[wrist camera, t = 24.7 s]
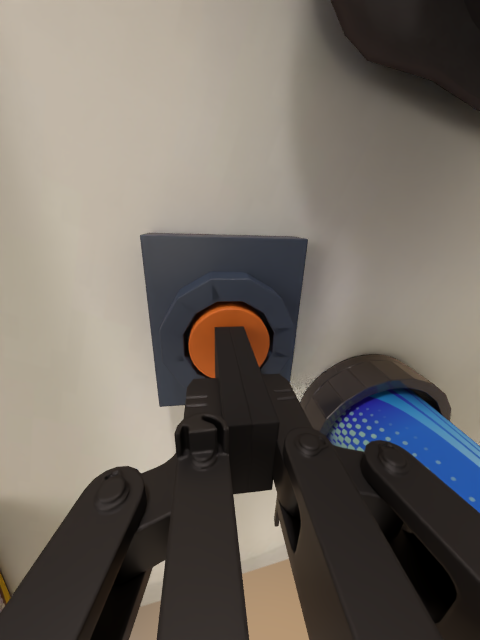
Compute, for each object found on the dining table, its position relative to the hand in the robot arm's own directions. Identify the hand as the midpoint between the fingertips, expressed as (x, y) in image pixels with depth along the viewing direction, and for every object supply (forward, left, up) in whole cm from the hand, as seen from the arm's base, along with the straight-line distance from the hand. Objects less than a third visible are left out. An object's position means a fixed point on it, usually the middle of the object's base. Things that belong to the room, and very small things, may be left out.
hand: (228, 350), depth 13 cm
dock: (+9, +12, -5) cm, 16 cm away
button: (0, 0, -2) cm, 2 cm away
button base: (0, 0, -5) cm, 5 cm away
